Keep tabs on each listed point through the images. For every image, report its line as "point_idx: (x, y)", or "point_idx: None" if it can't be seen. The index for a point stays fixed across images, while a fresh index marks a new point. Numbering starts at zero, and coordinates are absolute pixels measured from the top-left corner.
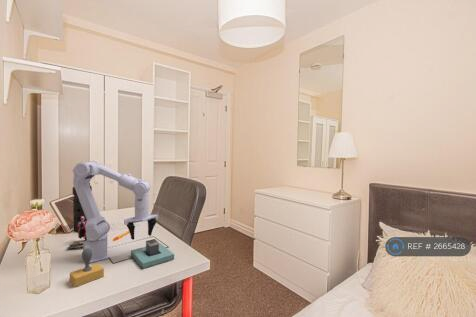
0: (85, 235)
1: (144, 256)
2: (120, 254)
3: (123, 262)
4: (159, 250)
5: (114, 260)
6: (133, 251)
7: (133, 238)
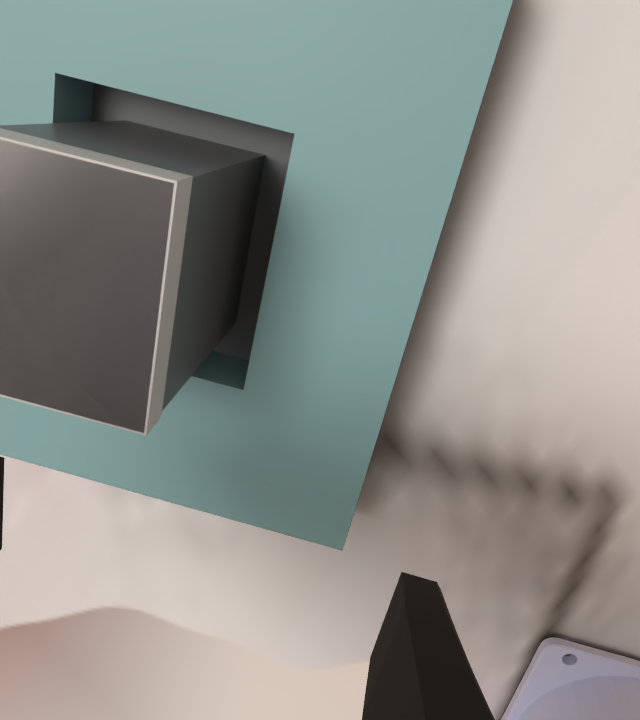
0: None
1: (333, 207)
2: None
3: (527, 419)
4: None
5: (555, 548)
6: (341, 492)
7: (426, 593)
